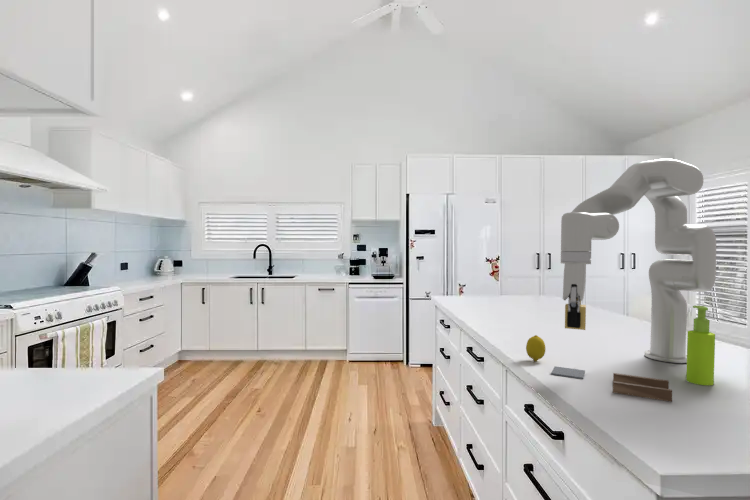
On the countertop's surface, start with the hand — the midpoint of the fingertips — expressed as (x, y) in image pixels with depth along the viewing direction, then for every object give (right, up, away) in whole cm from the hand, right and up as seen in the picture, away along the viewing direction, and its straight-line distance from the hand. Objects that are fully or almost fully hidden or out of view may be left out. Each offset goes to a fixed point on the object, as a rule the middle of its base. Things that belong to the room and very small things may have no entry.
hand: (574, 324), depth 121 cm
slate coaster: (0, -14, +3) cm, 14 cm away
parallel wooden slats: (+11, -14, -12) cm, 22 cm away
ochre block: (0, -1, 0) cm, 1 cm away
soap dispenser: (+32, -15, -2) cm, 35 cm away
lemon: (-5, -14, +15) cm, 21 cm away
